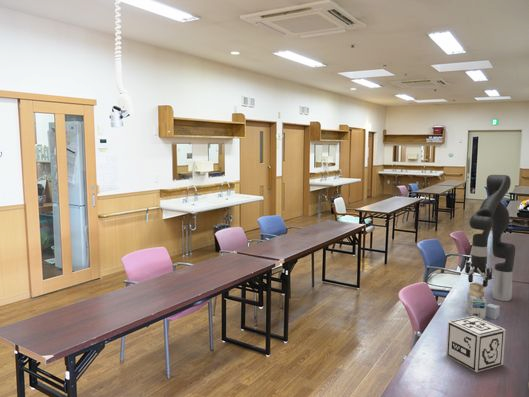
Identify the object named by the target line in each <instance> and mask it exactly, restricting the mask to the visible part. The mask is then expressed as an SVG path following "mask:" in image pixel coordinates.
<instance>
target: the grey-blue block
mask: <svg viewBox="0 0 529 397" xmlns="http://www.w3.org/2000/svg"><path fill="white" fill-rule="evenodd" d="M500 308H501V307H500V305H496V304H492V303H488V304H486V314H485V318H488V319H492V320H496V319H498V318H499V317H500Z"/></svg>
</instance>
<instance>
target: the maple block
mask: <svg viewBox="0 0 529 397" xmlns="http://www.w3.org/2000/svg"><path fill="white" fill-rule="evenodd" d="M468 292H469V295H471V296H474V297H477V298H478V297H485V287H483V283H479V282H471V283H469V288H468Z"/></svg>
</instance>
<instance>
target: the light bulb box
mask: <svg viewBox="0 0 529 397" xmlns="http://www.w3.org/2000/svg"><path fill="white" fill-rule="evenodd" d="M466 302H467V303H466V312H467V313H468V315H469V317H472V316H475V317H477V318H480V319H482V320H486V317H485V314H486V305H487V299H486V298H485V296H483V297H478V298H477V297H474V296H471V295H469V291H468V292H467V301H466Z"/></svg>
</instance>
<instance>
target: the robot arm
mask: <svg viewBox="0 0 529 397" xmlns="http://www.w3.org/2000/svg"><path fill="white" fill-rule="evenodd" d="M511 183H512V182H511V177H510V175H507V174H489V175H488V176H487V178H486V189H487V190H486V191H487V195H488V197H487V198H485V199H484V200H483V202H481V205H480V207H479V209H477V211H475V213H474V214H472V216H471V217H470V218H469V226H470V228H471V229H473V230H480V231H482V232H481V233H474V234H473V235H472V244H471V252H470V253H471V254H470V261H468V262H465V269H464V274H467V276H468V278H467V279H468V283H469V284H471V283H474V274H478V275H480V277H481V278H482V284H483V287H484V288H487V287H488V286H489V285H488V283H489V280H492V279H493V286H492V287H493V288H492V298H493V299H494V300H497V301H502V302H509V301H511V300H512V298H513V297H512V296H513V274H514V272H513V270H514V266H515V265H514V264H515V257H516V256H515V255H516V246H515V244H513V243H509V242H502V240H501V239H502V235H503V234H504V232H505V231H506V230H507V229H508V227H509V225H510V211H509V209H508V208H507V207H506V206H505V205H504V203H503V202H502V199H504V198H505V196H506V194H507V193H508V191H509V190H510V188H511ZM490 232H491V233H492V235H491V236H492V246H491V247H492V254H493V256H494V257H495V258H498V259H503V260H504V262H498V263H495V264H494V272H493V268H492V267H487V264H488V253H489V250H488V249H489V248H488V244H489V243H488V241H489V236H490ZM493 273H494V274H493Z"/></svg>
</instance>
